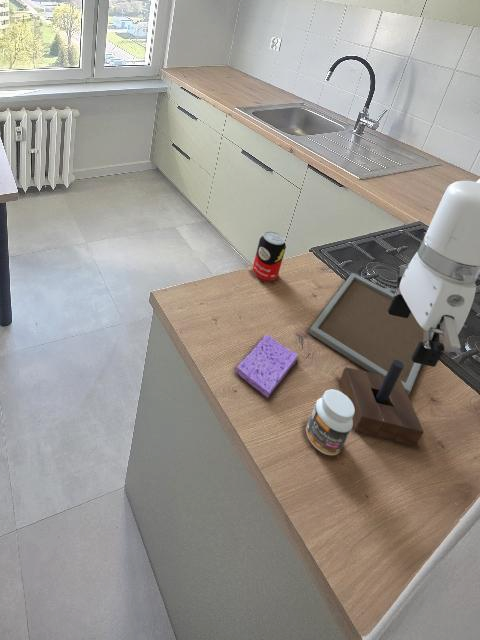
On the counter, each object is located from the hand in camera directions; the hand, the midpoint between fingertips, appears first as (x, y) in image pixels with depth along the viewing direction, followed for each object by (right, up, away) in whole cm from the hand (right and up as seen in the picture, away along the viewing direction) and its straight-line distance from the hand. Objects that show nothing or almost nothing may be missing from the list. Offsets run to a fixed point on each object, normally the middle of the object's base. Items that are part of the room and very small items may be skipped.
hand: (409, 337), depth 71 cm
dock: (-1, -18, +8) cm, 19 cm away
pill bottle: (-13, -19, +3) cm, 24 cm away
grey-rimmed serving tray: (+12, -10, +26) cm, 31 cm away
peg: (-1, -18, +8) cm, 19 cm away
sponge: (-18, -14, +15) cm, 27 cm away
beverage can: (-9, -3, +40) cm, 41 cm away
